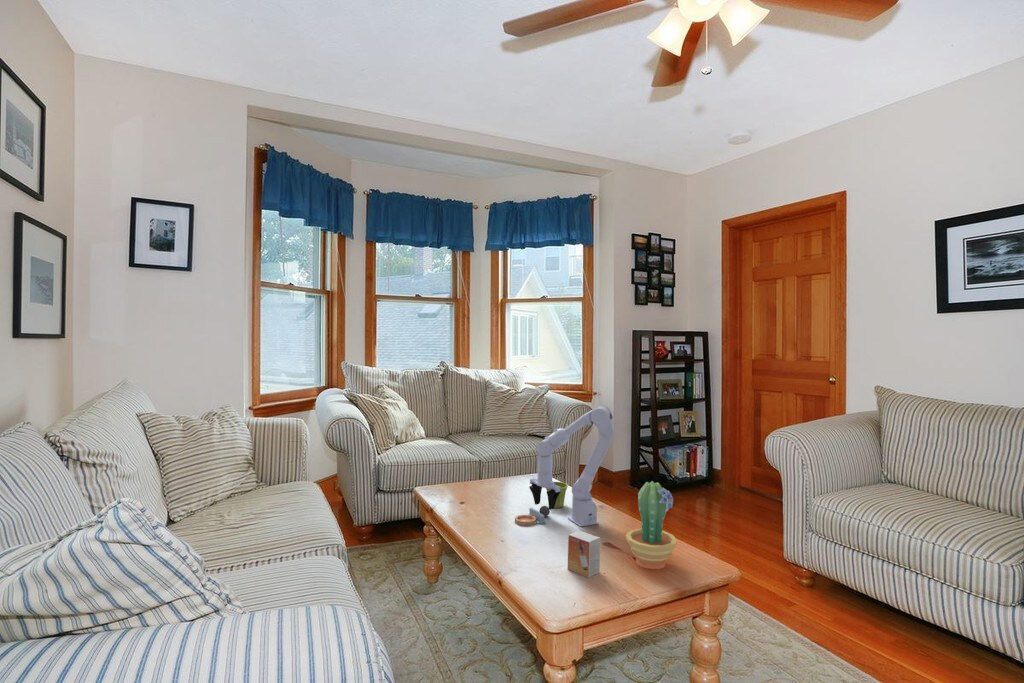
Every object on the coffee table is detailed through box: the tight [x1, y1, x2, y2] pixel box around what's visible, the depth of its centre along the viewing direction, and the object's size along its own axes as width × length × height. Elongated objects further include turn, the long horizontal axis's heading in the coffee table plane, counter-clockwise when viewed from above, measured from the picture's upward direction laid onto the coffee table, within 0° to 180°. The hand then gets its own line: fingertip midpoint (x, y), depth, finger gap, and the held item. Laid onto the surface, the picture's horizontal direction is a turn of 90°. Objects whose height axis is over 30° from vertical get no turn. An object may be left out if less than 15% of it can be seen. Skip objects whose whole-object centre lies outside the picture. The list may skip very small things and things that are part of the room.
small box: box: [567, 530, 601, 578], centre depth 158 cm, size 8×6×10 cm
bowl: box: [514, 514, 537, 527], centre depth 199 cm, size 8×8×1 cm
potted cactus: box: [625, 480, 678, 570], centre depth 164 cm, size 15×15×25 cm
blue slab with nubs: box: [528, 507, 547, 525], centre depth 201 cm, size 10×2×3 cm, turn 26°
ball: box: [538, 505, 551, 518], centre depth 205 cm, size 4×4×4 cm
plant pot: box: [545, 481, 569, 509], centre depth 218 cm, size 9×9×9 cm
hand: (544, 506), depth 205 cm, fingers open, 7 cm apart
